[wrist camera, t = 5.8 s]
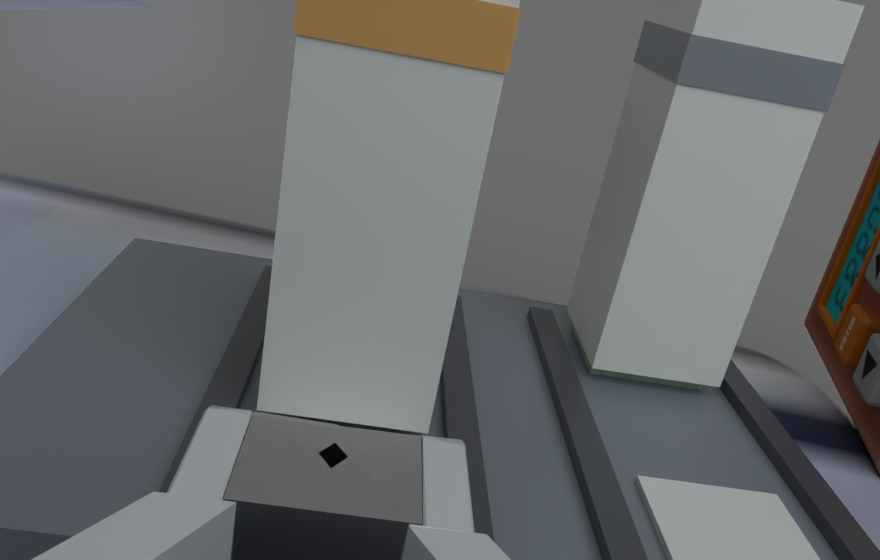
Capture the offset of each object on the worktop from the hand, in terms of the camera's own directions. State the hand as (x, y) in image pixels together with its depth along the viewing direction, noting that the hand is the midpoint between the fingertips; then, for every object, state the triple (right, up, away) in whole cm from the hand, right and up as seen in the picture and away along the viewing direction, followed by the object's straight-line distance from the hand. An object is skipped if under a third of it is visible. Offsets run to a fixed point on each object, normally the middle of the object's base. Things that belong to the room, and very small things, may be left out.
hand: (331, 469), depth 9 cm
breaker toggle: (-1, 0, +10) cm, 10 cm away
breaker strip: (+1, -2, +12) cm, 12 cm away
